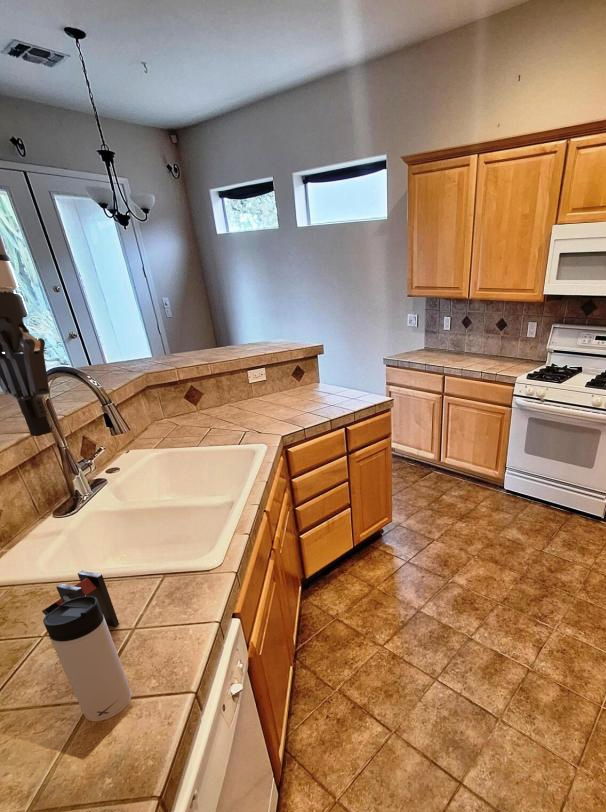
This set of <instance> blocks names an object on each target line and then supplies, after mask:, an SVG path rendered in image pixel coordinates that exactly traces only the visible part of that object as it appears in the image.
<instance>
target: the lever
mask: <svg viewBox="0 0 606 812" xmlns="http://www.w3.org/2000/svg"><path fill="white" fill-rule="evenodd" d="M74 586H75V587H80V588H82V590H83V593H84V596H86V595H87V594H89V593H90V592H92V591H93V590H94V589H96V587H95V586H94V584H93V583H92V582H91V581H90V580H89V579H88V578H86V579H84V580H83V581H81V582H80V581H79V582H78V583H77V584H75V585H74ZM62 603H63V602H62V600H61V598H59V599H58V600H56V601H54V602H53V603H51V604H50V605H49V606H46V607H45V608H44V609H42V610H41V612H42V613H43V615H44V616H46V615H47V614H49V613H50V612H52V611H53V610H54V609H56V608H58V607H60V606H59V605H61V604H62Z"/></svg>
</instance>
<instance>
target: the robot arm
mask: <svg viewBox="0 0 606 812" xmlns="http://www.w3.org/2000/svg"><path fill="white" fill-rule="evenodd" d="M18 288H19V285H18V282H17V278H16V275H15V273H14V269H13V266H12V263H11V260H10V257H9V255H8V252H7V247H6V245H5V242H4V239H3V235H2V233H1V231H0V388H1V390H2V392H3V393H4V394H5V395H11V396H12V397H13V398H14V399H15V400H16V401H17V404H18V406H19V409H20V412H21V414H22V415H23V418H24V420H25V422H26V423H25V424H26V426H27V428H28V431H29V434H30V436H31V437H41V436H44V435H47V434H51V433H53V431H52V428H51V425H50V422H49V420H48V417H47V416H48V415H47V411H46V407H45V405H44V403H43V397H44V396H46V395H49V394H50V385H49V379H48V371H47V366H46V359H45V353H44V352H45V345H46V341H45V340H44V338H42V337H35V336H34V335H33V334H31V333H30V330H29V328H28V326H27V325H26V324H25V321H24V318H27V317H28V315H29V313H28V310H27V307H26V303H25V301H24V298H23V295H21V293H19V292H16V290H18Z"/></svg>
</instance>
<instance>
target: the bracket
mask: <svg viewBox="0 0 606 812" xmlns="http://www.w3.org/2000/svg"><path fill="white" fill-rule="evenodd" d="M77 576H78V579H79V582H81V581H83V580H84V579H86V578H88V579H89V580H90V581H91V582H92V583H93V584H94V586H95V587H96V589H94V590H93V591H92V592H90V593H89V594H87V595H86V596H93V597H96V598H97V600H98V603H99V606H100V609H101V611H102V614H103V615H104V618H105V621H106V624H107V626H108V627H111V628H116V627H118V626H120V621H119V619H118V616H117V613H116V610H115V607H114V605H113V602H112V599H111V597H110V594H109V591H108V588H107V584H106V581H105V579H104V576H103V574H101V573H97V572H93V571H92V572H91V571H87V570H80V571H79V572H77ZM55 588H56V591H57V592H58V596H59V599H61V600H62V602H63V603H64V602H66V601H69V600H71V599H74V598H78V597H82V596H84V593H83V590H82V588H80V587H75V585H70V584H65V583H60V584H57V586H56V587H55Z"/></svg>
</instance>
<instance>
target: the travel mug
mask: <svg viewBox="0 0 606 812" xmlns="http://www.w3.org/2000/svg"><path fill="white" fill-rule="evenodd" d="M59 606H60V607H58V608H56V609H54V610H53V611H52V612H50V613H49V614H47V615H44V617H43V619H42V623H43V625H44V628H45V630H46V632H47V634H48V637H49V640H50V641H51V642H50V643H51V645H52V647H53V649H54V651H55V654H56V655H57V656H56V657H57V658H58V660H59V663H60V665H61V667H62V669H63V670H64V674H65V675H66V679H67V680H68V682H69V683H68V684H69V685H70V687H71V689H72V692H73V693H74V696H75V698H76V700H77V702H78V705H79V707H80V709H81V712H82V714H83V716H84V718H85V719H86V720H88V721H90V722H100V721H105V720H107V719H110V718H112V717H114V716H116V715H118V714H119V713H120V712H122V711H123V710H124V709H125V708H127V706H128V705H129V703H130V702H131V700H132V697H133V692H132V689H131V687H130V684H129V682H128V679H127V676H126V673H125V670H124V668H123V665H122V662H121V660H120V657H119V654H118V651H117V648H116V646H115V643H114V641H113V637H112V634H111V632H110V630H109V626H107V624H106V621H105V618H104V615H103V614H102V611H101V609H100V606H99V603H98V600H97V598H96V597H93V596H82V597H78V598H74V599H71V600H69V601H66V602H64V603H62V604H61V605H59Z"/></svg>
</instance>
